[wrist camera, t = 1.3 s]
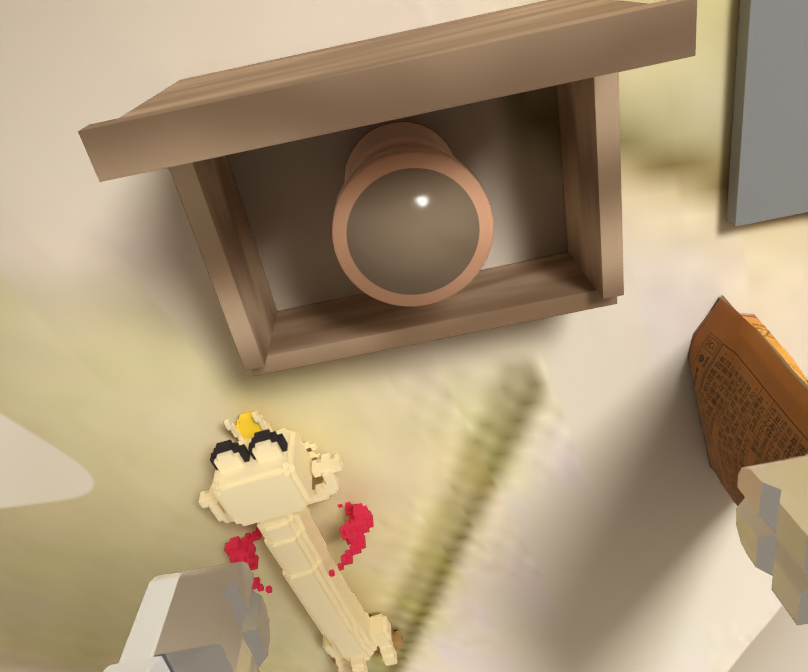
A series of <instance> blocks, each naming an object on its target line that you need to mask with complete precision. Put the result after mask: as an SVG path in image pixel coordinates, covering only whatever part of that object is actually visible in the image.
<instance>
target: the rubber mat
mask: <svg viewBox="0 0 808 672" xmlns="http://www.w3.org/2000/svg"><path fill="white" fill-rule="evenodd" d="M805 212H808V0H740V6H739V22H738V39H737V55H736V71H735V88H734V104H733V121H732V137H731V154H730V170H729V187H728V203H727V220H726V221H728V222H729V223H731V224H732V225H734V226H735V227H736V226H741V225H746V224H751V223H756V222H761V221H766V220H771V219H776V218H781V217H786V216H791V215H796V214H801V213H805Z"/></svg>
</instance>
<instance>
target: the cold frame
mask: <svg viewBox="0 0 808 672" xmlns="http://www.w3.org/2000/svg"><path fill="white" fill-rule="evenodd" d="M696 18H697V0H666V1H661V2H656V3H652V4H646V3H637V2H628V1H619V0H547V1H543V2H538V3H533V4H529V5H524V6H520V7H515V8H510V9H506V10H501V11H497V12H492V13H487V14H483V15H478V16H473V17H469V18H464V19H460V20H455V21H450V22H446V23H441V24H437V25H432V26H427V27H423V28H418V29H414V30H409V31H404V32H400V33H395V34H391V35H386V36H381V37H377V38H372V39H368V40H363V41H358V42H354V43H349V44H345V45H340V46H335V47H331V48H326V49H321V50H317V51H312V52H308V53H303V54H298V55H294V56H289V57H285V58H280V59H275V60H271V61H266V62H262V63H257V64H252V65H248V66H243V67H239V68H234V69H229V70H225V71H220V72H216V73H211V74H206V75H202V76H197V77H193V78H188V79H183V80H180V81H178V82H176V83H175V84H173V85H172V86H170V87H168V88H167V89H165V90H164V91H162V92H160V93H159V94H157V95H155V96H154V97H152V98H151V99H149V100H147V101H146V102H144V103H143V104H141V105H139V106H138V107H136V108H135V109H133V110H131V111H130V112H128V113H127V114H125V115H123V116H122V117H120V118H118V119H114V120H109V121H104V122H100V123H95V124H90V125H88V126H86V127H85V128H83V129H81V130H80V131H78V133H79V135H80V137H81V140H82V142H83V144H84V146H85V149H86V151H87V153H88V156H89V158H90V160H91V163H92V165H93V167H94V170H95V172H96V174H97V176H98V179H99V181H100V182H102V181H107V180H112V179H116V178H121V177H126V176H131V175H135V174H140V173H145V172H149V171H154V170H159V169H164V168H168V167H169V169H170V171H171V174H172V177H173V179H174V182H175V185H176V187H177V190H178V193H179V195H180V198H181V201H182V203H183V206H184V209H185V211H186V214H187V217H188V219H189V222H190V225H191V227H192V230H193V233H194V235H195V238H196V241H197V243H198V246H199V249H200V251H201V254H202V257H203V259H204V262H205V265H206V267H207V270H208V273H209V275H210V278H211V281H212V283H213V286H214V289H215V291H216V294H217V297H218V299H219V302H220V305H221V307H222V310H223V313H224V315H225V318H226V321H227V323H228V326H229V329H230V331H231V334H232V337H233V339H234V342H235V345H236V347H237V350H238V353H239V355H240V358H241V361H242V363H243V366H244V369H245V370H250V369H252V372H253V375H254V376H256V375H261V374H266V373H271V372H276V371H281V370H286V369H291V368H296V367H301V366H306V365H312V364H317V363H322V362H327V361H332V360H337V359H342V358H347V357H352V356H357V355H362V354H367V353H372V352H377V351H382V350H387V349H392V348H397V347H402V346H407V345H412V344H417V343H422V342H427V341H432V340H437V339H442V338H447V337H452V336H457V335H462V334H467V333H472V332H477V331H482V330H488V329H493V328H498V327H503V326H508V325H513V324H518V323H523V322H528V321H533V320H538V319H543V318H548V317H553V316H558V315H563V314H568V313H573V312H578V311H583V310H588V309H593V308H598V307H603V306H608V305H613V304H617V296H621V295H624V284H623V242H622V201H621V159H620V117H619V75H618V72H621V71H626V70H630V69H635V68H640V67H644V66H649V65H654V64H659V63H663V62H668V61H673V60H677V59H682V58H687V57H692V56H695V50H696ZM555 85H557V96H558V111H559V125H560V139H561V154H562V168H563V183H564V197H565V212H566V226H567V241H568V253H564V254H559V255H554V256H549V257H544V258H539V259H534V260H529V261H524V262H519V263H514V264H509V265H504V266H499V267H494V268H489V269H484V270H480V271H479V272H478V274H477V275H476V276H475V277H474V278H473V279H472V281H471V282H470V283H468V284H467V285H466V286H465V287H464V288H463V289H461V290H460V291H458V292H457V293H456V294H454V295H452V296H450V297H448V298H446V299H444V300H441V301H439V302H436V303H432V304H428V305H422V306H397V305H393V304H388V303H385V302H382V301H379V300H377V299H375V298H373V297H371V296H369V295H368V294H361V295H356V296H351V297H346V298H341V299H336V300H331V301H326V302H321V303H316V304H312V305H307V306H302V307H297V308H292V309H287V310H282V311H277V309H276V306H275V303H274V300H273V297H272V294H271V291H270V288H269V285H268V282H267V278H266V275H265V272H264V269H263V266H262V263H261V260H260V257H259V254H258V251H257V248H256V245H255V242H254V239H253V236H252V233H251V230H250V227H249V223H248V220H247V217H246V214H245V211H244V208H243V205H242V202H241V199H240V196H239V193H238V190H237V187H236V184H235V181H234V178H233V175H232V172H231V168H230V165H229V162H228V159H227V156H226V155H230V154H234V153H239V152H244V151H248V150H253V149H258V148H263V147H267V146H272V145H277V144H281V143H286V142H291V141H296V140H300V139H305V138H310V137H314V136H319V135H324V134H329V133H333V132H338V131H343V130H347V129H352V128H357V127H362V126H366V125H371V124H376V123H380V122H385V121H390V120H395V119H399V118H404V117H409V116H413V115H418V114H423V113H428V112H432V111H437V110H442V109H446V108H451V107H456V106H461V105H465V104H470V103H475V102H479V101H484V100H489V99H494V98H498V97H503V96H508V95H512V94H517V93H522V92H527V91H531V90H536V89H541V88H545V87H550V86H555Z"/></svg>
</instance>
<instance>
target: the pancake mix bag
mask: <svg viewBox="0 0 808 672" xmlns="http://www.w3.org/2000/svg"><path fill="white" fill-rule="evenodd" d="M688 359H689V364H690V369H691V374H692V379H693V384H694V388H695V393H696V399H697V404H698V409H699V414H700V419H701V424H702V428H703V432H704V437H705V441H706V446H707V454H708V458H709V463H710V467H711V468H712V469H713V471H714V472H715V473H716V474H717V476H718V478H719V480H720V482H721V483H722V485H723V486H724V488H725V489H726V491H727V492H728V493H729V495H730V496H731V498H732V499H733V501H734V502H735V503H736V505H737V506H739V504H740V503H741V502H742V501H743V500H744V498H745V496H744V495H743V494H742V492H741V491H740V490H739V489H738V487H737V485H738V474H739V472H740V470H741V468H742V467H747V466H752V465H757V464H762V463H767V462H772V461H778V460H783V459H788V458H793V457H798V456H805V455H807V454H808V380H807V379H806V377H805V375H804V374H803V372H802V371H801V370H800V368H799V367H798V366H797V364H796V363H795V361H794V360H793V359H792V357H791V356H790V355H789V354H788V353H787V352H786V350H785V349H784V348H783V347H782V346H781V345H780V343H779V342H778V341H777V340H776V339H775V338H774V336H773V335H772V334H771V333H770V332H769V331H768V330H767V328H766V327H765V326H764V325H763V324H762V323H761V322H760V321H759V319H758V318H757V317H756V316H755V315H753V314H739V313H738V312H737V311H736V310H735V309H734V308H733V307H732V305H731V304H730V303H729V302H728V301H727V300H726V299H725V297H724V296H723V295H722V296H721V298H720V299H719V300H718V302H717V303H716V304H715V306H714V307H713V309H712V310H711V311H710V313H709V314H708V315H707V317H706V318H705V319H704V321H703V322H702V323H701V324H700V326H699V327H698V328H697V330H696V331H695V332H694V334H693V338H692V341H691V345H690V349H689V352H688Z"/></svg>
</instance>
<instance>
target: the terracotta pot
mask: <svg viewBox="0 0 808 672" xmlns="http://www.w3.org/2000/svg"><path fill="white" fill-rule="evenodd" d="M493 229H494V227H493V216H492V211H491V207H490V204H489V201H488V198H487V196H486V194H485V192H484V190H483V189H482V187H481V185H480V183H479V182H478V180H477V179H476V177H475V176H474V175H473V173H472V172H471V171H470V170H469V169H468V168H467V167H466V166H465V165H464V164H463V163H461V162H460V161H459V160H458V159H456V158H455V157H454V155H453V153H452V151H451V149H450V148H449V146H448V145H447V144H446V142H445V141H444V140H443V139H442V138H441V137H440V136H439V135H438V134H436V133H435V132H434V131H432V130H430V129H429V128H426V127H424V126H422V125H419V124H415V123H409V122H396V123H390V124H386V125H383V126H380V127H378V128H376V129H374V130H372V131H371V132H369V133H368V134H367V135H365V136H364V137H363V138H362V139H361V140H360V141H359V142H358V143H357V145H356V146H355V148H354V149H353V151H352V153H351V154H350V156H349V159H348V162H347V165H346V170H345V180H344V185H343V187H342V189H341V190H340V192H339V195H338V198H337V200H336V204H335V208H334V216H333V227H332V237H333V245H334V250H335V253H336V256H337V259H338V261H339V263H340V265H341V267H342V269H343V271H344V272H345V274H346V275H347V277H348V278H349V279H350V280H351V281H352V282H353V283H354V284H355V285H356V286H357V287H358V288H359V289H360V290H362V291H363V292H365V293H366V294H368V295H369V296H371V297H373V298H375V299H377V300H379V301H382V302H385V303H388V304H393V305H397V306H422V305H428V304H432V303H436V302H439V301H441V300H444V299H446V298H448V297H450V296H452V295H454V294H456V293H457V292H458V291H460V290H461V289H463V288H464V287H465V286H466V285H467V284H468V283H470V282H471V281H472V279H473V278H474V277H475V276H476V275H477V274H478V272H479V271H480V269H481V268H482V266H483V265H484V263H485V261H486V259H487V257H488V254H489V251H490V248H491V244H492V239H493Z"/></svg>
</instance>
